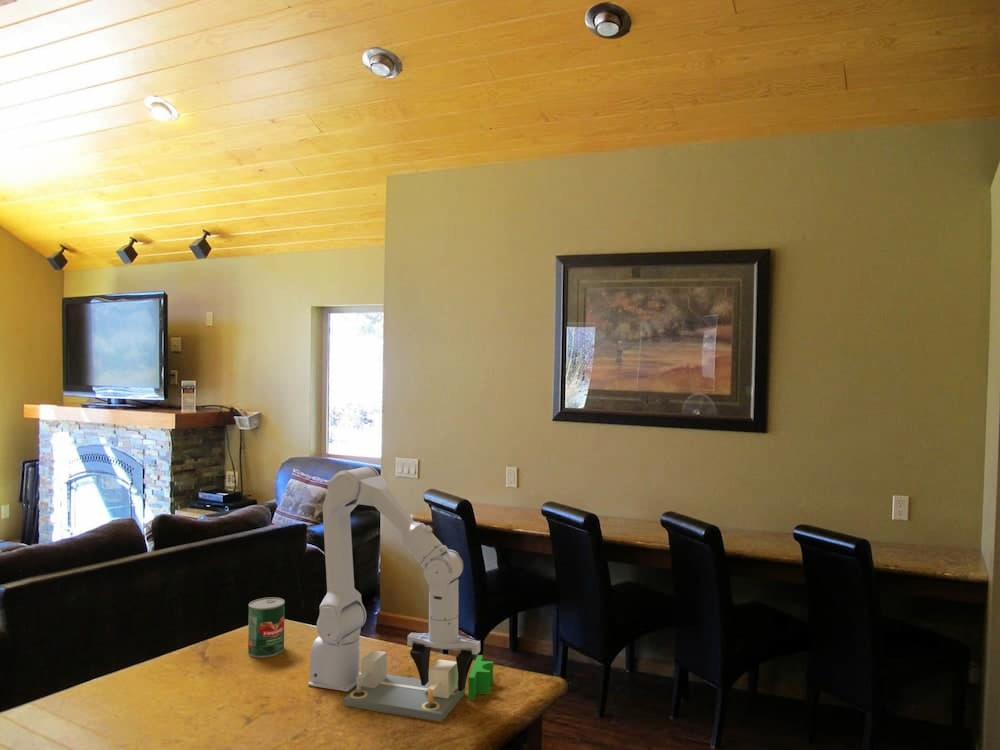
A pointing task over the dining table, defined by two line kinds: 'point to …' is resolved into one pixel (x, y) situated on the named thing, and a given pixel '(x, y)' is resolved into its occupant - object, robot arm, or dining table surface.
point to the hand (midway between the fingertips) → (443, 686)
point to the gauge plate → (396, 692)
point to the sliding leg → (442, 679)
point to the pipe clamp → (480, 677)
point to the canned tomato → (266, 627)
